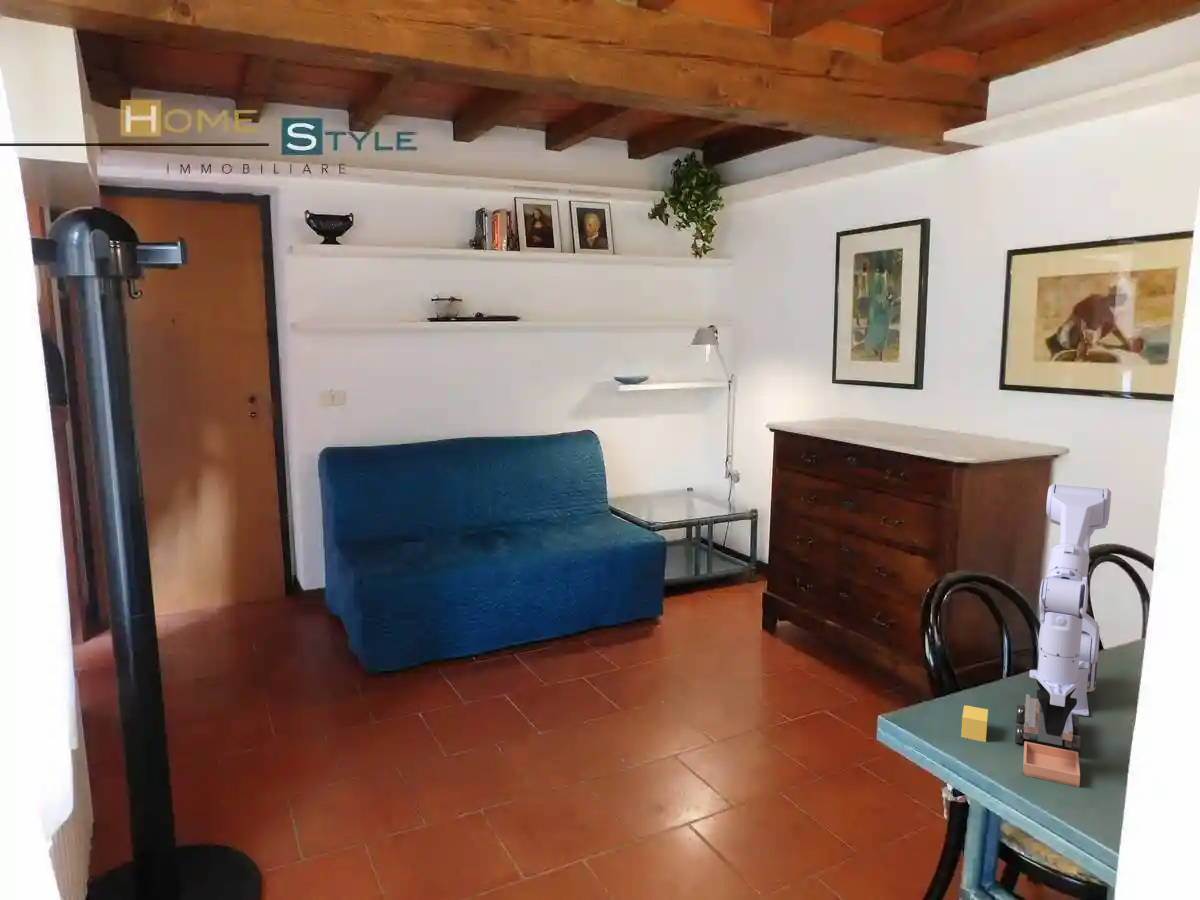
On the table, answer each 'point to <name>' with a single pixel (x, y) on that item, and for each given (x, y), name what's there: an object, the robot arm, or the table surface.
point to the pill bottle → (1092, 677)
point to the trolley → (1031, 724)
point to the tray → (1051, 764)
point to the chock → (974, 723)
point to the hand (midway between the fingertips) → (1053, 729)
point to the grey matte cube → (1042, 732)
